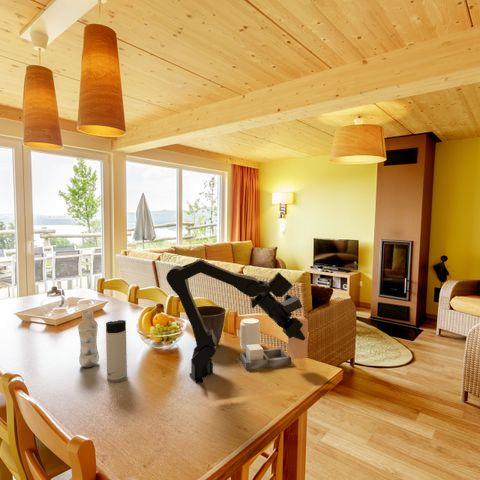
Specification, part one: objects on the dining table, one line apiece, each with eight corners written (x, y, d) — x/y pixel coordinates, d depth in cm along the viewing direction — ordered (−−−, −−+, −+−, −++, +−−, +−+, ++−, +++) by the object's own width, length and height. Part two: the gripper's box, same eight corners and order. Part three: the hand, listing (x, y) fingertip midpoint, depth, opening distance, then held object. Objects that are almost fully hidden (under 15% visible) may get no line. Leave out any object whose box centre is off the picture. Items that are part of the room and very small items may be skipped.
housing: (244, 374, 114) (244, 364, 114) (236, 361, 125) (236, 351, 124) (294, 368, 119) (294, 358, 119) (282, 355, 130) (282, 346, 129)
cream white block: (249, 366, 118) (250, 350, 117) (245, 360, 123) (246, 345, 122) (263, 365, 119) (263, 349, 119) (258, 359, 124) (258, 343, 123)
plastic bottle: (103, 363, 122) (101, 310, 121) (87, 371, 116) (86, 315, 114) (90, 360, 125) (89, 308, 123) (75, 367, 119) (73, 313, 117)
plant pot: (182, 352, 132) (182, 313, 131) (200, 339, 146) (200, 304, 145) (215, 358, 127) (216, 318, 126) (231, 344, 141) (231, 307, 139)
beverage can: (258, 353, 132) (258, 324, 131) (238, 352, 133) (238, 322, 132) (261, 346, 140) (261, 318, 139) (242, 344, 141) (242, 316, 140)
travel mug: (108, 385, 107) (106, 324, 105) (106, 376, 112) (104, 318, 111) (128, 380, 110) (127, 321, 108) (125, 372, 115) (124, 316, 114)
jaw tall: (293, 359, 112) (294, 321, 111) (287, 352, 117) (288, 316, 116) (307, 357, 113) (308, 320, 112) (300, 351, 118) (301, 316, 117)
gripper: (297, 296, 103) (329, 328, 106) (279, 283, 122) (307, 311, 125) (272, 321, 103) (305, 354, 105) (258, 305, 121) (286, 333, 124)
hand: (301, 336), depth 115 cm, fingers closed on jaw tall, 5 cm apart
